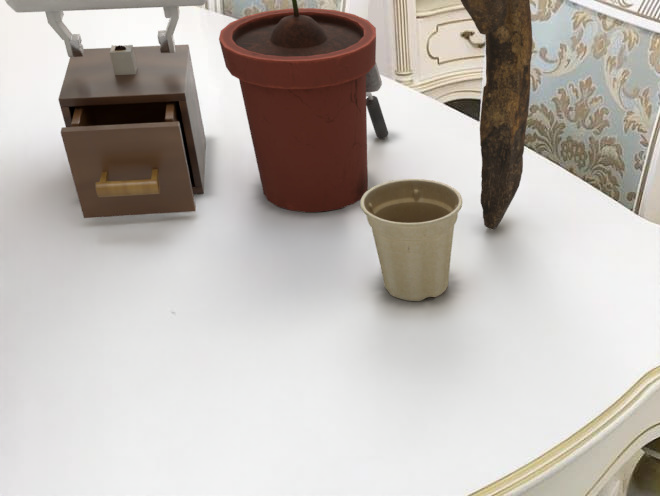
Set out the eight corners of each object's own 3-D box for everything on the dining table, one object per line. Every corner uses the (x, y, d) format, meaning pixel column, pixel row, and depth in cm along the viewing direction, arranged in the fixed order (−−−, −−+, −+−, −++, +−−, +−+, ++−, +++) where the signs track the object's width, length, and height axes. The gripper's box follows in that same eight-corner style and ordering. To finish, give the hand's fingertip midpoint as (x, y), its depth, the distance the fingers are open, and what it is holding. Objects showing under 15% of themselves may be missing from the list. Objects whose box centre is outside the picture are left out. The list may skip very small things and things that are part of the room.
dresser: (203, 193, 122) (184, 92, 114) (85, 201, 120) (58, 99, 112) (205, 140, 132) (188, 44, 124) (96, 146, 130) (72, 49, 122)
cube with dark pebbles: (114, 75, 117) (108, 49, 115) (117, 68, 119) (110, 42, 117) (135, 74, 117) (130, 48, 116) (137, 67, 119) (132, 42, 117)
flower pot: (367, 312, 105) (359, 224, 99) (367, 264, 111) (360, 179, 105) (466, 309, 105) (464, 222, 99) (461, 262, 112) (459, 177, 106)
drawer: (194, 229, 114) (177, 142, 108) (80, 237, 112) (55, 149, 106) (198, 158, 126) (182, 76, 120) (94, 164, 124) (73, 81, 118)
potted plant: (216, 173, 126) (170, -84, 108) (384, 133, 134) (368, -111, 116) (281, 235, 115) (243, -37, 97) (460, 188, 124) (455, -70, 106)
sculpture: (441, 234, 116) (430, -102, 94) (479, 208, 120) (476, -120, 99) (498, 251, 114) (500, -90, 92) (534, 223, 118) (544, -109, 96)
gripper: (-29, -89, 104) (16, 68, 114) (194, -95, 106) (219, 59, 116) (-19, -106, 108) (24, 47, 118) (195, -111, 111) (219, 39, 121)
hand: (122, 53), depth 117 cm, fingers open, 8 cm apart
